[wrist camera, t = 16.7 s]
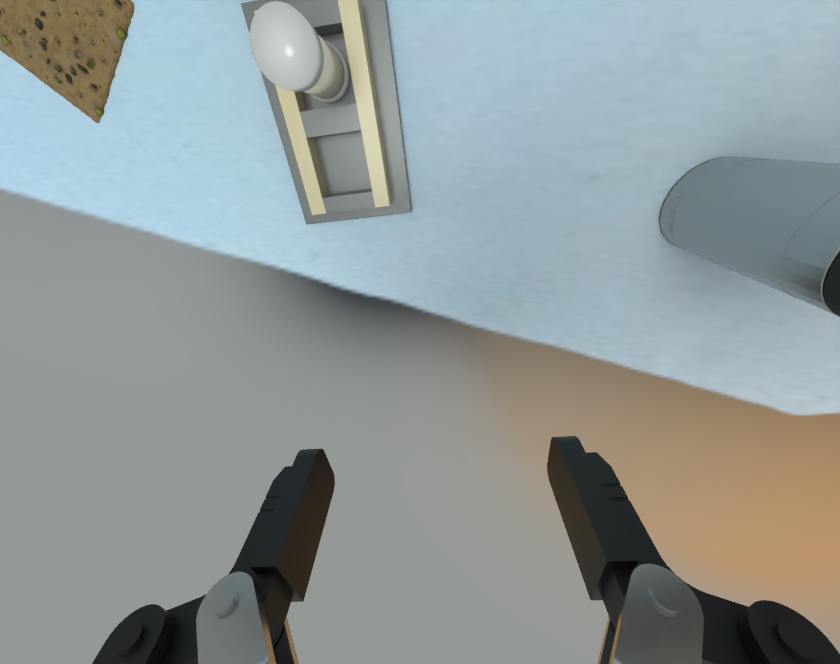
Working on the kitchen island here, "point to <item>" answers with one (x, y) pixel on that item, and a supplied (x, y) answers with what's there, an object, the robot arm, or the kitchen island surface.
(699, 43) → the kitchen island surface
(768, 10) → the kitchen island surface
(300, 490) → the robot arm
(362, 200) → the fuse holder
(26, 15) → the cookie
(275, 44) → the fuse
